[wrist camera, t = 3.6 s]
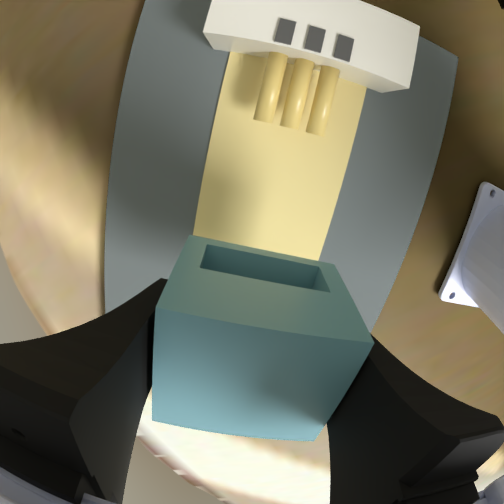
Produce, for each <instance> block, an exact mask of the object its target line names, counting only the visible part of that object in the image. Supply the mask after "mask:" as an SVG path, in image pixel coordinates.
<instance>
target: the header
mask: <svg viewBox="0 0 504 504" xmlns="http://www.w3.org/2000/svg"><path fill="white" fill-rule="evenodd" d="M419 31H420V26H418V25H416V24H414V23H412V22H410V21H408V20H406V19H404V18H401V17H399V16H397V15H395V14H393V13H390V12H388V11H386V10H383V9H381V8H378V7H376V6H373V5H371V4H368V3H365V2H363V1H360V0H212V2H211V5H210V8H209V12H208V15H207V19H206V22H205V26H204V29H203V33H204V35H205V37H206V38H207V40H208V41H209V43H210V45H211V46H212V48H213V49H214V50H221V51H228V52H236V53H242V54H248V55H253V56H258V57H263V58H268V59H267V63H266V67H265V71H264V75H263V79H262V83H261V88H260V92H259V96H258V100H257V104H256V109H255V113H254V117H253V120H257V121H262V122H266V123H271V124H272V123H273V119H274V115H275V110H276V106H277V102H278V98H279V94H280V90H281V85H282V81H283V77H284V73H285V69H286V65H287V63H289V64H293V65H294V67H293V72H292V76H291V80H290V84H289V88H288V92H287V96H286V101H285V105H284V109H283V113H282V117H281V121H280V125H279V126H283V127H287V128H291V129H295V130H299V127H300V123H301V118H302V114H303V110H304V106H305V102H306V98H307V94H308V90H309V85H310V81H311V77H312V73H313V70H316V71H319V72H320V74H319V78H318V83H317V87H316V91H315V95H314V99H313V103H312V107H311V112H310V116H309V120H308V124H307V128H306V132H307V133H310V134H314V135H318V136H321V137H324V136H325V132H326V128H327V124H328V120H329V116H330V112H331V108H332V104H333V100H334V96H335V91H336V87H337V83H338V79H339V78H342V79H345V80H348V81H351V82H354V83H357V84H359V85H362V86H365V87H367V88H369V89H372V90H375V91H377V92H380V93H384V92H390V91H396V90H402V89H409V87H410V82H411V77H412V72H413V66H414V61H415V55H416V50H417V43H418V37H419Z"/></svg>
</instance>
